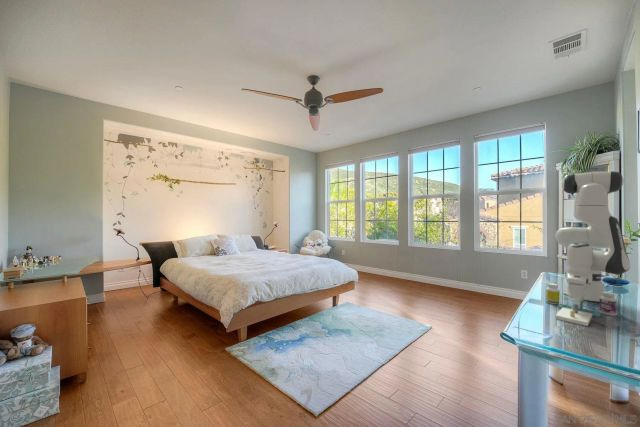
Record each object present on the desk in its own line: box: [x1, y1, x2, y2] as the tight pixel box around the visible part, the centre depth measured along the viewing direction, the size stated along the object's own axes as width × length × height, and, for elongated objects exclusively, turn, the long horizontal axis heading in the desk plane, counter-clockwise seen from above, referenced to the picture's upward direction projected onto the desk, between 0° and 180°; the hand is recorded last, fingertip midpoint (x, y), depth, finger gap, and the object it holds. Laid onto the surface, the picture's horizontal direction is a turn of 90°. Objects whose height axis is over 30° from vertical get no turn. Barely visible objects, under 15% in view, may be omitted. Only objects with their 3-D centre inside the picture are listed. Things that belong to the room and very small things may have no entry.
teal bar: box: [557, 301, 602, 318], centre depth 126 cm, size 14×5×4 cm, turn 39°
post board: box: [555, 303, 593, 327], centre depth 118 cm, size 16×10×5 cm, turn 129°
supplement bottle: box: [545, 282, 561, 305], centre depth 138 cm, size 5×5×10 cm
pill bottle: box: [598, 291, 617, 317], centre depth 124 cm, size 5×5×10 cm
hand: (578, 306), depth 126 cm, fingers closed on teal bar, 5 cm apart
